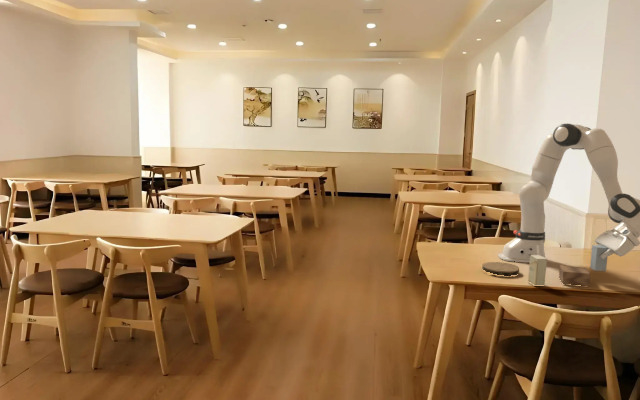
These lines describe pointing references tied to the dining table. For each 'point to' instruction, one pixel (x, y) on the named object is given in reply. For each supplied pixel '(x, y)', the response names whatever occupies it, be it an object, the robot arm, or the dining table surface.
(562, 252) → the dining table surface
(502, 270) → the grey brown disc
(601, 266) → the slate block
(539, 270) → the skincare box
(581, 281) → the walnut block
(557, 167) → the robot arm
